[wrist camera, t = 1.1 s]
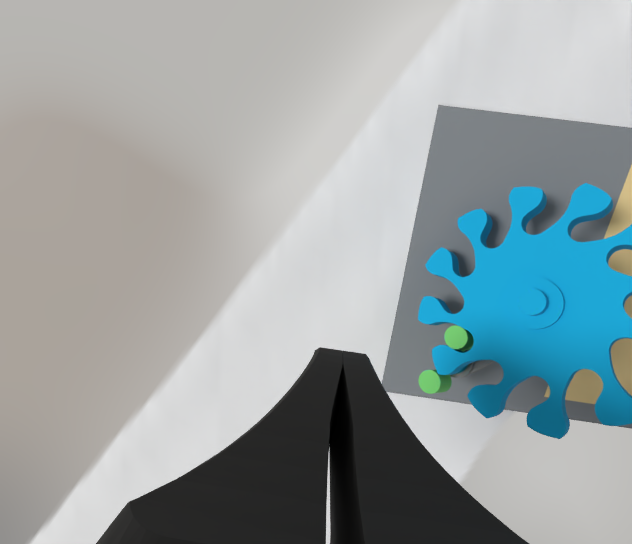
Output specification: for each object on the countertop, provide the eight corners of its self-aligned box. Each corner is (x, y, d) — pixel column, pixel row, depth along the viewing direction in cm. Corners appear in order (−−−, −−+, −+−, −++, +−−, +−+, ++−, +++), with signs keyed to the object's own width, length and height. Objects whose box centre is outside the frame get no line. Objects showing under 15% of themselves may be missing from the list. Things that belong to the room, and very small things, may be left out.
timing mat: (858, 155, 18) (875, 157, 17) (702, 432, 23) (711, 440, 22) (436, 105, 18) (438, 105, 18) (380, 384, 24) (380, 391, 23)
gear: (567, 124, 16) (811, 350, 11) (588, 177, 21) (769, 355, 16) (361, 286, 21) (469, 494, 16) (413, 300, 25) (511, 466, 21)
